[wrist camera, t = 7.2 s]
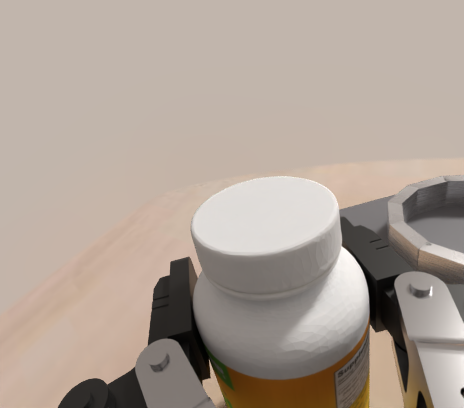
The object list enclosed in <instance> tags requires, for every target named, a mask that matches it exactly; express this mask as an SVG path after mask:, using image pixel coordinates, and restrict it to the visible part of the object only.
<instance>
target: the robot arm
mask: <svg viewBox="0 0 464 408" xmlns="http://www.w3.org/2000/svg"><path fill="white" fill-rule="evenodd" d="M340 226H341V233H342V247H343V248H345V249H346V250H347V251H348V252H349V253H350V254H351V255H352V256H353V257H354V258H355V260H356V261H357V263H358V264H359V266H360V267H361V269H362V271H363V273H364V276H365V279H366V282H367V286H368V293H369V305H370V325H371V326H372V328H373V329H374V330H375V332H380V331H383V330H388V332H389V333H390V334H391V336H392V341H391V343H392V349H393V354H394V358H395V363H396V368H397V373H398V377H399V382H400V387H401V392H402V396H403V402H404V408H464V284H445V283H444V282H443V281H441V280H440V279H439V278H437V277H435V276H433V275H431V274H428V273H424V272H416V271H415V270H414V269H413V268H411V267H410V266H409V265H408V264H407V263H406V262H405V261H404V260H403V259H402V258H401V257H400V256H399V255H398V254H397V253H396V252H395V251H394V250H393V249H392V248H391V247H389V246H388V244H386V243H385V242H384V241H383V240H382V239H381V238H380V237H379V236H378V235H377V234H376V233H375V232H374V231H373V230H371V229H368V228H366V227H364V226H362V225H358V226H355V227H354V226H353V225H352V224H351V223H350V222H349V220H348V219H347V218H346V217H344V216H342V217H340ZM197 280H198V278H197V275H196V272H195V269H194V267H193V264H192V261H191V258H190V257H186V258H182V259H179V260H175V261H171V263H170V275H169V276H165V277H162V278H160V279H159V281H158V283H157V284H156V286H155V288H154V293H153V302H152V312H151V321H150V330H149V339H148V346H147V347H146V348H145V349H144V350H143V351H142V352H141V354H140V355H139V357H138V359H137V362H136V366H135V367H134V368H133V369H132V370H131V371H129V372H128V373H126V374H125V375H123V376H121V377H119V378H118V379H116V380H114V381H113V382H111V383H109V384H108V385H107V384H106V383H105V382H104V381H103V380H101V379H97V378H93V379H88V380H85V381H83V382H81V383H79V384H78V385H76V386H75V387H74V388H72V389H71V390H70V391H69V392H68V393H67V394H66V396H65V397H64V398H63V400H62V401H61V403H60V404H59V406H58V408H216V407H215V405H214V403H213V402H212V400H211V399H210V397H208V395H207V394H206V392H205V390H204V388H203V385H202V380H205V379H208V378H211V377H210V366H209V357H208V355H207V352H206V350H205V347H204V345H203V342H202V340H201V337H200V334H199V331H198V328H197V325H196V322H195V318H194V313H193V294H194V289H195V285H196V283H197Z"/></svg>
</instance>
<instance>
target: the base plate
mask: <svg viewBox="0 0 464 408" xmlns="http://www.w3.org/2000/svg"><path fill="white" fill-rule="evenodd" d="M394 196H395V195H392V196H389V197H385V198H381V199H378V200H374V201H370V202H366V203H363V204H359V205H355V206H352V207H348V208H344V209H341V210H339V214H340V217H342V216H344V217H346V218H347V219H348V220H349V222H350V223H351V224H352V225H353V226H354V227H355V226H358V225H362V226H364V227H366V228H368V229H371V230H373V231H374V232H375V233H376V234H377V235H378V236H379V237H380V238H381V239H382V240H383V241H384V242H385V243H386V244H388V233H387V214H388V201H389V200H390V199H392V198H393V197H394ZM406 224H407V225H408V226H410V227H411V228H412V229H413V230H415V231H416V232H417V233H419V234H420V235H421V236H422V237H424V238H425V239H426V240H427V241H429V242H430V243H433V244H436V245H439V246H442V247H445V248H448V249H451V250H454V251H457V252H460V253H463V254H464V206H444V207H440V208H437V209H433V210H429V211H426V212H422V213H418V214H416V215H415V216H414V217H413V218H411V219H410V220H409V221H408V222H407V223H406Z"/></svg>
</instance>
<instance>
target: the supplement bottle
mask: <svg viewBox="0 0 464 408" xmlns="http://www.w3.org/2000/svg"><path fill="white" fill-rule="evenodd" d="M191 235H192V238H193V242H194V245H195V249H196V252H197V256H198V259H199V262H200V264H201V267H202V269H203V270H202V272H201V274H200V276H199V278H198V280H197V283H196V285H195V289H194V294H193V313H194V318H195V322H196V325H197V328H198V331H199V334H200V337H201V340H202V342H203V345H204V347H205V350H206V352H207V355H208V357H209V360H210V362H211V365H212V368H213V370H214V373H215V376H216V378H217V381H218V383H219V386H220V389H221V392H222V394H223V397H224V400H225V402H226V405H227V408H369V329H370V305H369V293H368V286H367V282H366V279H365V276H364V273H363V271H362V269H361V267H360V266H359V264H358V263H357V261H356V260H355V258H354V257H353V256H352V255H351V254H350V253H349V252H348V251H347V250H346V249H345V248H343V247H342V233H341V226H340V214H339V206H338V202H337V200H336V198H335V196H334V195H333V193H332V192H331V191H330V190H329V189H328V188H326V187H325V186H323V185H321V184H319V183H317V182H314V181H311V180H308V179H303V178H298V177H290V176H275V177H265V178H258V179H252V180H248V181H245V182H242V183H238V184H235V185H233V186H230V187H228V188H226V189H223V190H222V191H220V192H218V193H216V194H214V195H213V196H211V197H210V198H209V199H207V200H206V201H205V202H204V203H203V204H202V205H201V206H200V207H199V208H198V209H197V211H196V212H195V214H194V216H193V218H192V221H191Z"/></svg>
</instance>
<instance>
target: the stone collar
mask: <svg viewBox="0 0 464 408" xmlns="http://www.w3.org/2000/svg"><path fill="white" fill-rule="evenodd" d="M444 206H464V175H455V176H440V177H436V178H433V179H429V180H425V181H421V182H418V183H414V184H410V185H408V186H406V187H405V188H404V189H402V190H401V191H400V192H399V193H398V194H396V195H395V196H394V197H393V198H392V199H390V200H389V201H388V214H387V233H388V246H389V247H391V248H392V249H393V250H394V251H395V252H396V253H397V254H398V255H399V256H400V257H401V258H402V259H403V260H404V261H405V262H406V263H407V264H408V265H409V266H410V267H411V268H413V269H414V270H415V271H416V272H424V273H428V274H431V275H433V276H435V277H437V278H439V279H440V280H441V281H443V282H444V283H445V284H464V254H463V253H460V252H457V251H454V250H451V249H448V248H445V247H442V246H439V245H436V244H433V243H430V242H429V241H427V240H426V239H425V238H424V237H422V236H421V235H420V234H419V233H417V232H416V231H415V230H413V229H412V228H411V227H410V226H408V225H407V224H406V223H407V222H408V221H409V220H410V219H411V218H413V217H414V216H415V215H416V214H418V213H422V212H426V211H429V210H433V209H437V208H440V207H444Z"/></svg>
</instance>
